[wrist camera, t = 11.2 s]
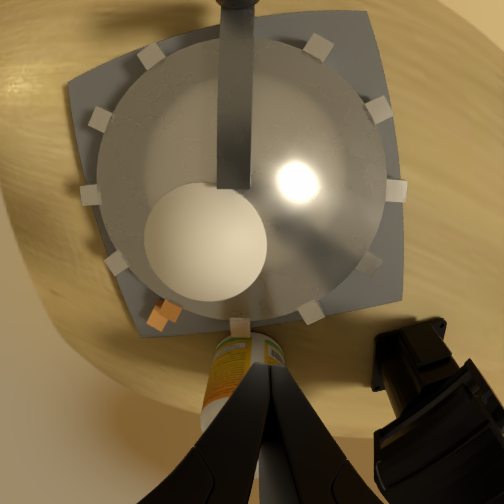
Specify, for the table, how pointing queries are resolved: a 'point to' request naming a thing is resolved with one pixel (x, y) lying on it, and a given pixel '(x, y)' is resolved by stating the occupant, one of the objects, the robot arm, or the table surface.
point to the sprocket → (242, 176)
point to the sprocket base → (340, 59)
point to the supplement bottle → (235, 370)
